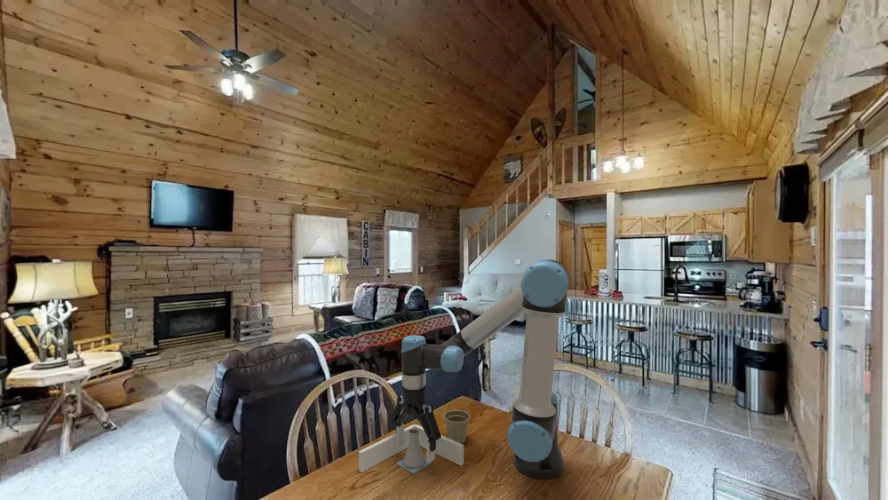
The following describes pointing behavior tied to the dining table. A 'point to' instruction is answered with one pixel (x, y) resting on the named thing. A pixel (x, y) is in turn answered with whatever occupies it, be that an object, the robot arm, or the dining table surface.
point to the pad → (413, 468)
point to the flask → (414, 451)
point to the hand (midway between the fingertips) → (415, 452)
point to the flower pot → (457, 425)
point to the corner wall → (389, 447)
